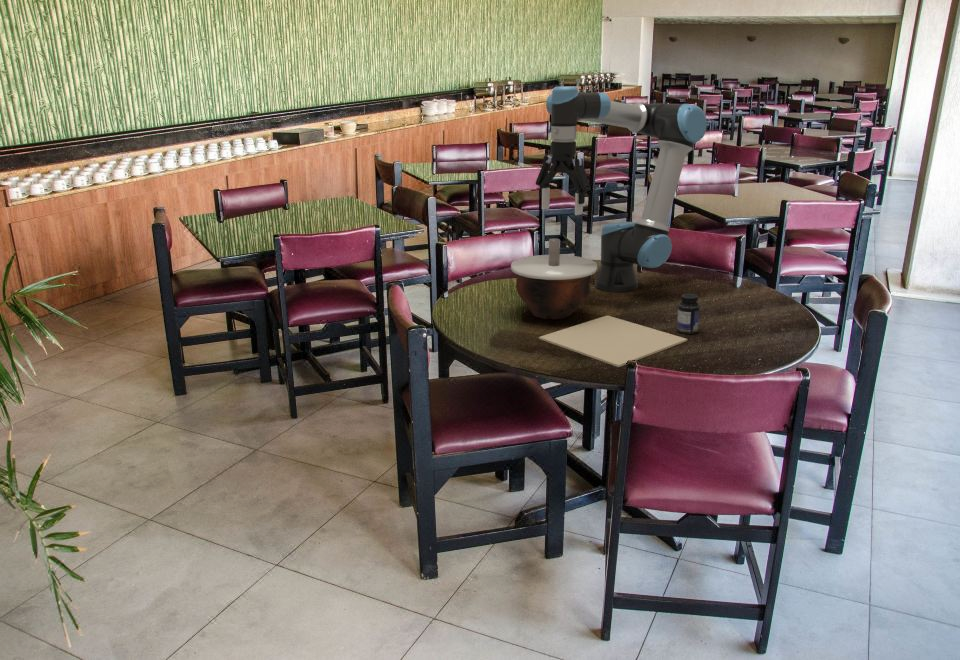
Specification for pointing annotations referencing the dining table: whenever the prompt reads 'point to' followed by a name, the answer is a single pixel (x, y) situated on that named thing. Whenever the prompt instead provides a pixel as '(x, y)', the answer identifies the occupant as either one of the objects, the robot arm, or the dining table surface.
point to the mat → (613, 340)
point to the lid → (554, 265)
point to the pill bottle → (688, 314)
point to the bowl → (553, 295)
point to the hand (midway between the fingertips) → (561, 211)
